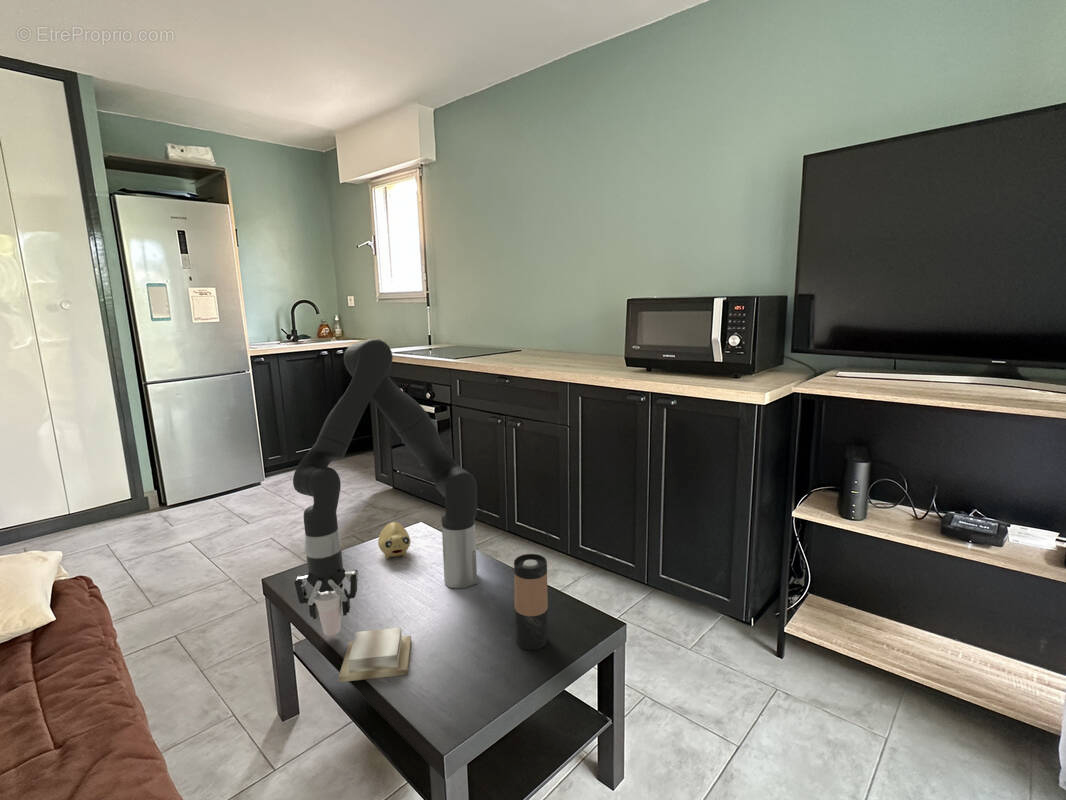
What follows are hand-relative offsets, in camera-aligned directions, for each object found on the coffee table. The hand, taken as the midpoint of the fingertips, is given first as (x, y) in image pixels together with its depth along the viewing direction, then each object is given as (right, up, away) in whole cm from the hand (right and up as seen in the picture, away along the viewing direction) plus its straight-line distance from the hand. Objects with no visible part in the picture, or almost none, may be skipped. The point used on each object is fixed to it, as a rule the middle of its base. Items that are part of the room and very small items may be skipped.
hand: (330, 615), depth 126 cm
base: (+13, -7, -7) cm, 16 cm away
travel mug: (+47, -6, -1) cm, 48 cm away
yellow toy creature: (+4, +1, +43) cm, 43 cm away
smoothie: (0, -4, +1) cm, 4 cm away
